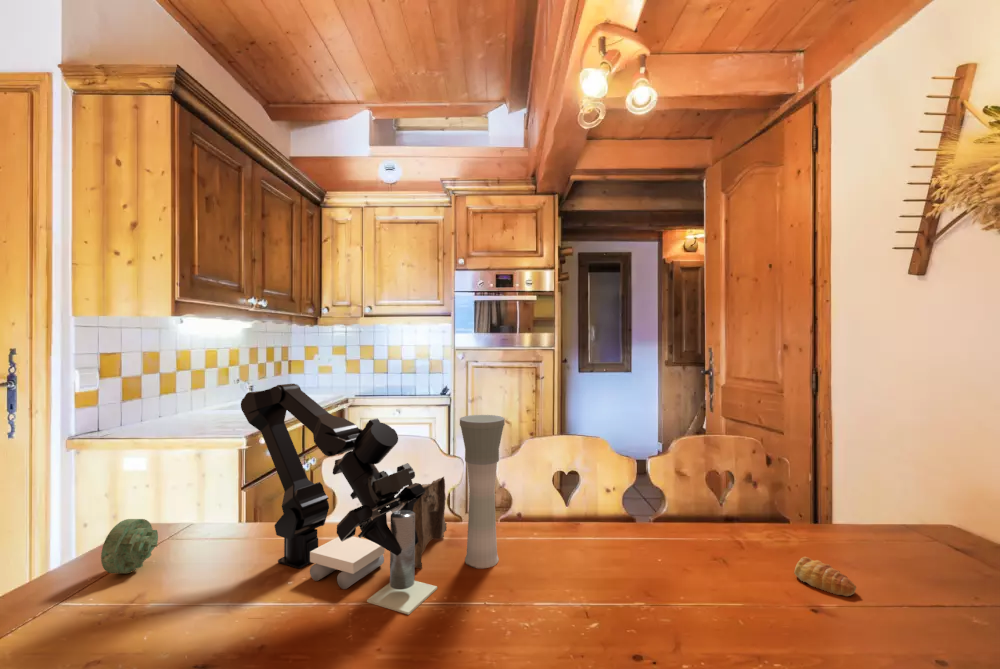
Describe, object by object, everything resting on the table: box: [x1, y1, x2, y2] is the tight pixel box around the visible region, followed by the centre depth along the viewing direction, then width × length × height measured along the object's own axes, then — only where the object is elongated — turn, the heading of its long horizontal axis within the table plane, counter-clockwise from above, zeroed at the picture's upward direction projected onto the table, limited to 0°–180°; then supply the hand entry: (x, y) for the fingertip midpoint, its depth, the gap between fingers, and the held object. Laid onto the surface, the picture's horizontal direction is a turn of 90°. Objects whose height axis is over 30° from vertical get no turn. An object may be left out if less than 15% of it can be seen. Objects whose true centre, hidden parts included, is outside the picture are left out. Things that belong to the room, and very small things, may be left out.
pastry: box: [794, 556, 857, 597], centre depth 88 cm, size 9×7×4 cm
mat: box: [366, 579, 438, 616], centre depth 84 cm, size 9×9×1 cm
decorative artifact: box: [100, 518, 159, 574], centre depth 93 cm, size 10×7×10 cm
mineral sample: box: [413, 476, 448, 569], centre depth 102 cm, size 17×4×15 cm, turn 168°
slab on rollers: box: [309, 535, 385, 590], centre depth 92 cm, size 11×10×5 cm
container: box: [459, 414, 505, 569], centre depth 98 cm, size 10×10×30 cm
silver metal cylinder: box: [389, 510, 416, 590], centre depth 84 cm, size 4×4×12 cm
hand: (408, 548), depth 84 cm, fingers closed on silver metal cylinder, 4 cm apart
